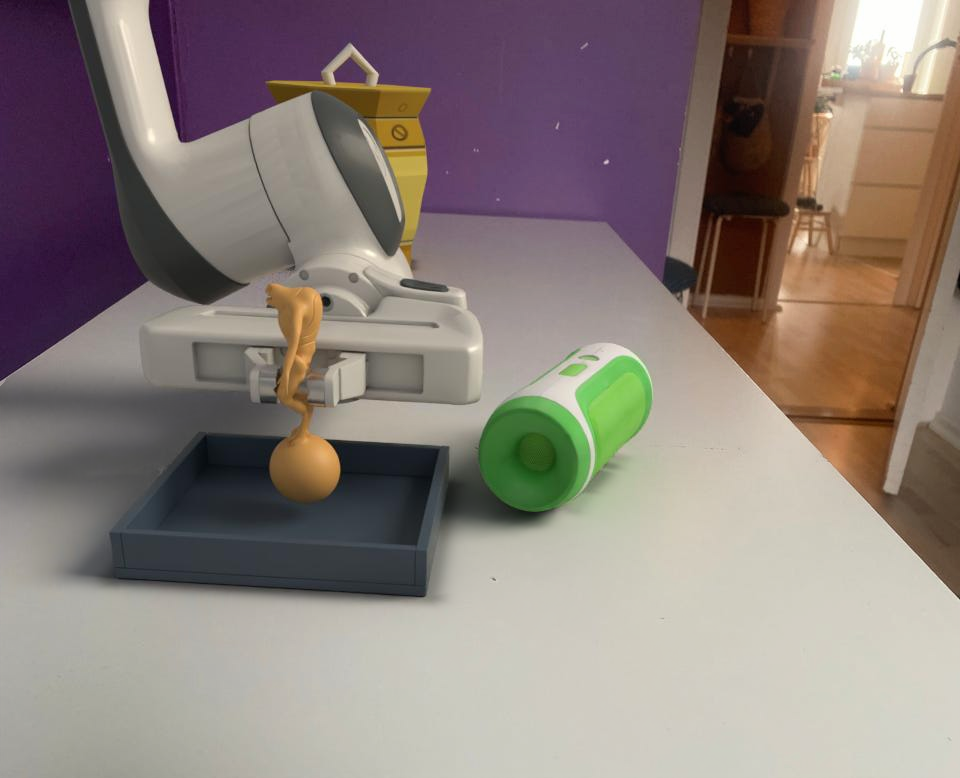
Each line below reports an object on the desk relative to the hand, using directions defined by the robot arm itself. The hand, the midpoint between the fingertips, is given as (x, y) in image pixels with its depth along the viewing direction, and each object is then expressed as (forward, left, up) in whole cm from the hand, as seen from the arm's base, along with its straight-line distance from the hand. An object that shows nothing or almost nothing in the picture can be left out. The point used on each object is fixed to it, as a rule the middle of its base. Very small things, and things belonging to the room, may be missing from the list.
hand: (292, 391), depth 56 cm
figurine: (+2, +1, -6) cm, 7 cm away
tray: (0, +1, -8) cm, 8 cm away
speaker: (+16, +12, -8) cm, 22 cm away
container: (-10, +87, -8) cm, 88 cm away
